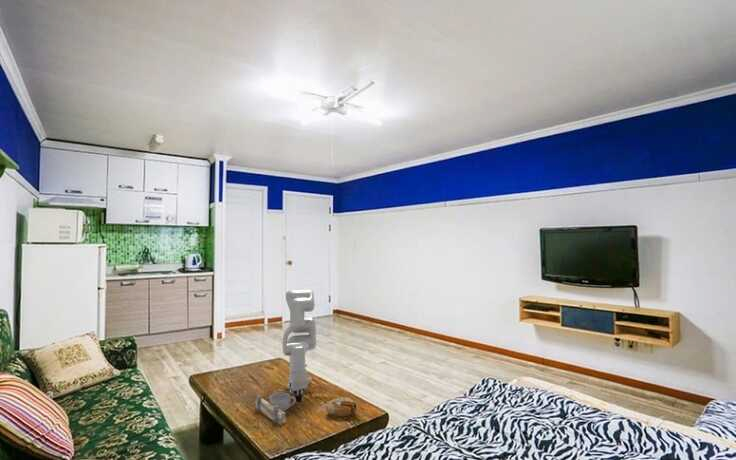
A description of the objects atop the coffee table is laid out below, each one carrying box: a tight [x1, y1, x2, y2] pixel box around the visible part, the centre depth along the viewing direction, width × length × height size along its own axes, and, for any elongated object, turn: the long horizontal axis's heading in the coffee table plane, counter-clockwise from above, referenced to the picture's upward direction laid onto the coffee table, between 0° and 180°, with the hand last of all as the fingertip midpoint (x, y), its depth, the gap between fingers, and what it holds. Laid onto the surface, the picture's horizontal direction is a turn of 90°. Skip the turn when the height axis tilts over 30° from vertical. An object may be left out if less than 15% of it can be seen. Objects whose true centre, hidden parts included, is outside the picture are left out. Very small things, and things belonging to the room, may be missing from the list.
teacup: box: [269, 392, 296, 413], centre depth 199 cm, size 14×11×8 cm
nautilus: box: [324, 397, 361, 422], centre depth 191 cm, size 8×22×15 cm
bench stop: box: [255, 394, 287, 426], centre depth 193 cm, size 4×26×8 cm, turn 43°
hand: (298, 401), depth 205 cm, fingers closed
